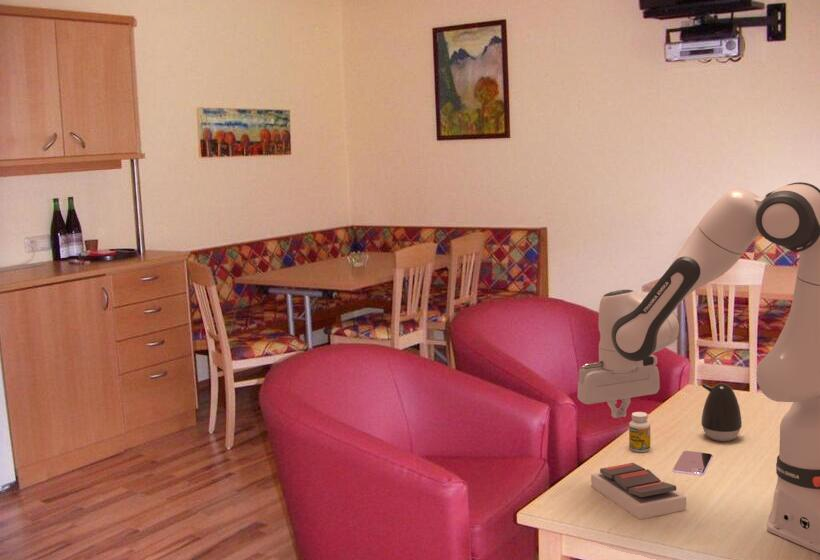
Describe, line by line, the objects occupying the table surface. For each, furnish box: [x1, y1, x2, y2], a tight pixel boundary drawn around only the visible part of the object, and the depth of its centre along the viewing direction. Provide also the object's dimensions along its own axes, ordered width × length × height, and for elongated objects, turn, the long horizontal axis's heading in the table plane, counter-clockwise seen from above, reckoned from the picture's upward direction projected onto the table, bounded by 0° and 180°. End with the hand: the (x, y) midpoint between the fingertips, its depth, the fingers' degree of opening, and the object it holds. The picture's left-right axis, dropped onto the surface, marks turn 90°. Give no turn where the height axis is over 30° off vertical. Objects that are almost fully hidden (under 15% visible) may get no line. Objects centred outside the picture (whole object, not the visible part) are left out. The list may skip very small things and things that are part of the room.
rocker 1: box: [599, 462, 646, 479], centre depth 213 cm, size 5×9×1 cm, turn 110°
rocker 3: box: [629, 481, 677, 497], centre depth 202 cm, size 5×9×1 cm, turn 109°
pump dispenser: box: [700, 382, 743, 442], centre depth 243 cm, size 10×10×15 cm
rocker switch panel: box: [590, 472, 687, 520], centre depth 208 cm, size 20×12×3 cm, turn 20°
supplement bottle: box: [628, 411, 651, 453], centre depth 237 cm, size 5×5×10 cm
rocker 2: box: [614, 468, 662, 491], centre depth 207 cm, size 5×9×1 cm, turn 110°
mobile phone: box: [671, 450, 714, 477], centre depth 227 cm, size 8×1×15 cm
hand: (618, 416), depth 212 cm, fingers closed
